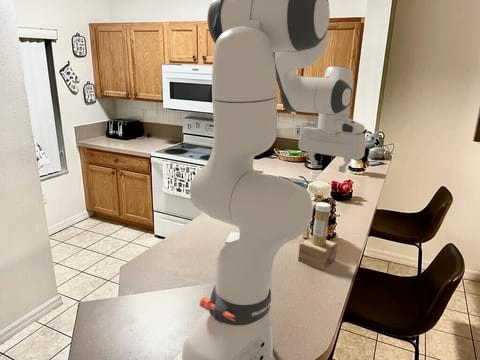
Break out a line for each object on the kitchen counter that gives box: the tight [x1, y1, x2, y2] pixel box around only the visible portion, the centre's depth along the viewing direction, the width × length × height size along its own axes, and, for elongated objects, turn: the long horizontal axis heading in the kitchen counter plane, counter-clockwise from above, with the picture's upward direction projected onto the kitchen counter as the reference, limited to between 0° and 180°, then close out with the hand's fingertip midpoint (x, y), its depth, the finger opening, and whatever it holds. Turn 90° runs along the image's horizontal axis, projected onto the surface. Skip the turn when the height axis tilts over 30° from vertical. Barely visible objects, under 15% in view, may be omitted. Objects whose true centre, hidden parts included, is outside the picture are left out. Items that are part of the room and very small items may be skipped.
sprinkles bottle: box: [312, 201, 331, 246], centre depth 115 cm, size 5×5×13 cm
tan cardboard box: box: [297, 235, 338, 271], centre depth 118 cm, size 9×9×6 cm
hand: (327, 169), depth 110 cm, fingers open, 8 cm apart
